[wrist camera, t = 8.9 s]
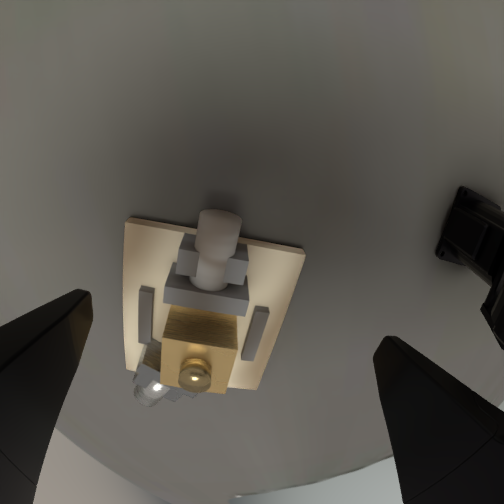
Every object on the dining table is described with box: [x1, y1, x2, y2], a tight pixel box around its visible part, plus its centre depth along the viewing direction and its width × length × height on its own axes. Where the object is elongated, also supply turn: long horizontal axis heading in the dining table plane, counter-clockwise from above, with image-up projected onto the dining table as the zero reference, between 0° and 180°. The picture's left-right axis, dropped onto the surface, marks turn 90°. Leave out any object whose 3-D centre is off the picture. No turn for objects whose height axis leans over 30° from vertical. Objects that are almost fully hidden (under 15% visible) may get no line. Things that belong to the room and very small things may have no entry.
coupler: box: [160, 305, 238, 394], centre depth 19 cm, size 4×4×6 cm
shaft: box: [133, 338, 198, 407], centre depth 22 cm, size 6×5×3 cm
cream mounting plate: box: [123, 209, 306, 390], centre depth 20 cm, size 12×16×4 cm
